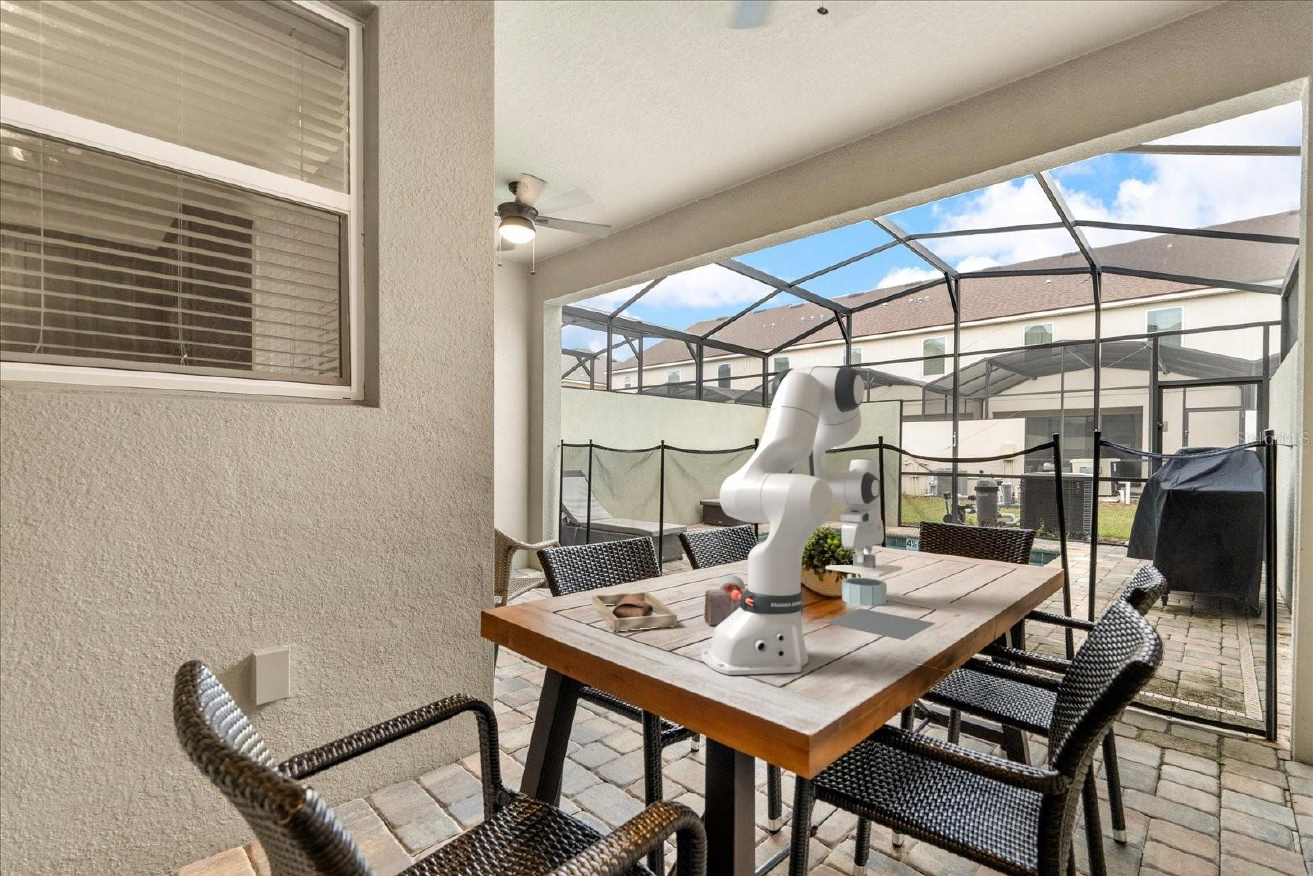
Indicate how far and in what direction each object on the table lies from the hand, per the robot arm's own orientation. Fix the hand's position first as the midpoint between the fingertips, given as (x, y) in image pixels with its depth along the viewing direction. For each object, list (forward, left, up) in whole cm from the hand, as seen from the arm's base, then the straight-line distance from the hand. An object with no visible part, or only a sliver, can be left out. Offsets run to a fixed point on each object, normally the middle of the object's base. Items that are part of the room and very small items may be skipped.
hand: (863, 561), depth 175 cm
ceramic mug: (-37, +9, -12) cm, 40 cm away
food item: (-46, -8, -12) cm, 48 cm away
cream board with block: (0, 0, -2) cm, 2 cm away
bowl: (0, 0, -12) cm, 12 cm away
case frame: (-69, +5, -12) cm, 70 cm away
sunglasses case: (-69, +5, -12) cm, 70 cm away
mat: (-11, -21, -12) cm, 27 cm away
